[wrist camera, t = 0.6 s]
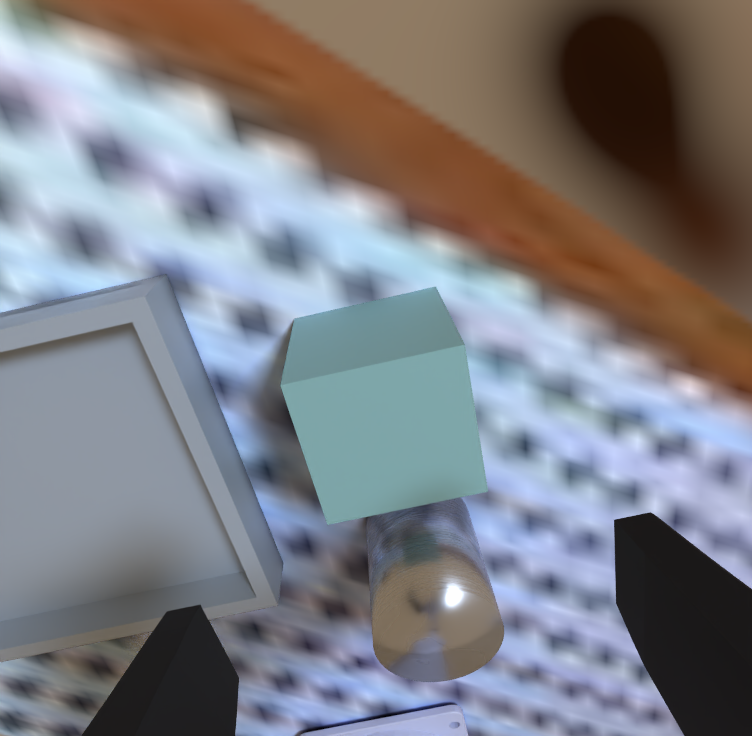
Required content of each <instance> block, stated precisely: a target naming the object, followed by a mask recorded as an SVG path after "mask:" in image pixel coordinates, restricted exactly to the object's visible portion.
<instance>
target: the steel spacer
mask: <svg viewBox="0 0 752 736" xmlns="http://www.w3.org/2000/svg"><path fill="white" fill-rule="evenodd" d="M366 534H367V551H368V568H369V584H370V601H371V618H372V635H373V648H374V652H375V655H376V657H377V659H378V660H379V662H380V663H381V664H382V665H383V666H384V667H385V668H386V669H388V670H389V671H390V672H392V673H394V674H395V675H398V676H400V677H403V678H406V679H409V680H414V681H421V682H441V681H447V680H452V679H456V678H459V677H463V676H465V675H468V674H470V673H472V672H474V671H476V670H478V669H479V668H481V667H482V666H484V665H485V664H486V663H487V662H489V661H490V660H491V659H492V658H493V657H494V656H495V654H496V653H497V651H498V650H499V648H500V646H501V644H502V641H503V637H504V626H503V622H502V619H501V616H500V612H499V609H498V606H497V603H496V599H495V596H494V593H493V590H492V586H491V583H490V580H489V577H488V573H487V570H486V567H485V564H484V560H483V557H482V554H481V551H480V547H479V544H478V541H477V538H476V534H475V531H474V528H473V525H472V522H471V518H470V515H469V512H468V509H467V507H466V504H465V503H464V501H463V500H462V499H461V498H460V497H459V498H454V499H450V500H445V501H440V502H435V503H431V504H426V505H421V506H416V507H411V508H407V509H402V510H397V511H392V512H387V513H383V514H378V515H373V516H368V517H367V522H366Z"/></svg>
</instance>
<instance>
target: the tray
mask: <svg viewBox="0 0 752 736" xmlns="http://www.w3.org/2000/svg"><path fill="white" fill-rule="evenodd" d="M282 570H283V561H282V559H281V556H280V554H279V552H278V549H277V547H276V544H275V542H274V539H273V537H272V534H271V532H270V529H269V527H268V524H267V522H266V519H265V517H264V514H263V512H262V509H261V507H260V505H259V502H258V500H257V497H256V495H255V492H254V490H253V487H252V485H251V482H250V480H249V477H248V475H247V472H246V470H245V467H244V465H243V462H242V460H241V458H240V455H239V453H238V450H237V448H236V445H235V443H234V440H233V438H232V435H231V433H230V430H229V428H228V425H227V423H226V420H225V418H224V415H223V413H222V411H221V408H220V406H219V403H218V401H217V398H216V396H215V393H214V391H213V388H212V386H211V383H210V381H209V378H208V376H207V373H206V371H205V368H204V366H203V364H202V361H201V359H200V356H199V354H198V351H197V349H196V346H195V344H194V341H193V339H192V336H191V334H190V331H189V329H188V326H187V324H186V321H185V319H184V316H183V314H182V312H181V309H180V307H179V304H178V302H177V299H176V297H175V294H174V292H173V289H172V287H171V284H170V282H169V279H168V277H167V274H165V275H161V276H157V277H152V278H148V279H144V280H140V281H135V282H131V283H127V284H122V285H118V286H114V287H109V288H105V289H101V290H97V291H92V292H88V293H84V294H79V295H75V296H71V297H67V298H62V299H58V300H54V301H49V302H45V303H41V304H36V305H32V306H28V307H24V308H19V309H15V310H11V311H6V312H2V313H0V662H3V661H8V660H13V659H18V658H23V657H28V656H33V655H38V654H43V653H48V652H53V651H58V650H63V649H67V648H72V647H77V646H82V645H87V644H92V643H97V642H102V641H107V640H112V639H117V638H122V637H126V636H131V635H136V634H141V633H146V632H151V631H154V629H155V628H156V626H157V625H158V623H159V622H160V620H161V619H162V617H163V616H164V615H165V613H166V612H167V611H171V610H176V609H180V608H185V607H190V606H195V605H201V607H202V609H203V610H204V612H205V614H206V616H207V618H208V620H210V619H215V618H220V617H225V616H230V615H235V614H240V613H245V612H249V611H254V610H259V609H264V608H269V607H274V606H278V602H279V594H280V586H281V578H282Z"/></svg>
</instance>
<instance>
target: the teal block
mask: <svg viewBox="0 0 752 736" xmlns="http://www.w3.org/2000/svg"><path fill="white" fill-rule="evenodd" d="M280 386H281V389H282V392H283V395H284V398H285V401H286V404H287V407H288V410H289V413H290V416H291V419H292V422H293V425H294V428H295V430H296V433H297V436H298V439H299V442H300V445H301V448H302V451H303V454H304V457H305V460H306V463H307V466H308V469H309V472H310V475H311V478H312V481H313V484H314V487H315V489H316V492H317V495H318V498H319V501H320V504H321V507H322V510H323V513H324V516H325V519H326V522H327V525H330V524H335V523H340V522H344V521H349V520H354V519H359V518H363V517H368V516H373V515H378V514H383V513H387V512H392V511H397V510H402V509H407V508H411V507H416V506H421V505H426V504H431V503H435V502H440V501H445V500H450V499H454V498H459V497H464V496H469V495H474V494H478V493H483V492H488V488H487V482H486V476H485V470H484V463H483V457H482V451H481V444H480V438H479V432H478V425H477V419H476V413H475V406H474V400H473V394H472V388H471V381H470V375H469V369H468V362H467V356H466V350H465V344H464V342H463V340H462V338H461V336H460V334H459V332H458V330H457V328H456V326H455V324H454V322H453V320H452V318H451V316H450V314H449V312H448V310H447V308H446V306H445V304H444V302H443V300H442V298H441V296H440V294H439V292H438V290H437V288H436V287H432V288H428V289H423V290H419V291H415V292H410V293H406V294H401V295H397V296H393V297H388V298H384V299H379V300H375V301H371V302H366V303H362V304H357V305H353V306H349V307H344V308H340V309H335V310H331V311H327V312H322V313H318V314H313V315H309V316H304V317H300V318H296V319H294V323H293V328H292V332H291V337H290V342H289V346H288V351H287V356H286V361H285V365H284V370H283V375H282V379H281V384H280Z"/></svg>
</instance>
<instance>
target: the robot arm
mask: <svg viewBox="0 0 752 736" xmlns="http://www.w3.org/2000/svg"><path fill="white" fill-rule="evenodd" d="M614 532H615V573H616V604H617V606H618V608H619V611H620V613H621V615H622V618H623V620H624V622H625V624H626V627H627V629H628V631H629V633H630V636H631V638H632V640H633V642H634V644H635V647H636V649H637V651H638V653H639V655H640V658H641V660H642V662H643V664H644V666H645V668H646V670H647V671H648V673H649V675H650V677H651V678H652V680H653V682H654V684H655V685H656V687H657V689H658V691H659V692H660V694H661V696H662V698H663V699H664V701H665V703H666V705H667V706H668V708H669V710H670V712H671V713H672V715H673V717H674V718H675V720H676V722H677V724H678V725H679V727H680V729H681V730H682V732H683V734H684V736H752V589H751V588H749V587H748V586H747V585H745V584H744V583H743V582H741V581H740V580H739V579H737V578H736V577H735V576H733V575H732V574H731V573H729V572H728V571H727V570H725V569H724V568H723V567H721V566H720V565H719V564H717V563H716V562H715V561H714V560H712V559H711V558H710V557H708V556H707V555H706V554H704V553H703V552H702V551H700V550H699V549H698V548H697V547H695V546H694V545H693V544H691V543H690V542H689V541H688V540H686V539H685V538H684V537H683V536H681V535H680V534H679V533H677V532H676V531H675V530H674V529H672V528H671V527H670V526H668V525H667V524H666V523H665V522H663V521H662V520H661V519H660V518H658V517H657V516H655V515H654V514H652V513H651V512H650V513H645V514H641V515H636V516H631V517H626V518H621V519H616V520H614ZM238 684H239V677H238V675H237V673H236V671H235V669H234V668H233V666H232V664H231V662H230V660H229V658H228V656H227V654H226V652H225V650H224V648H223V647H222V645H221V643H220V641H219V639H218V637H217V635H216V633H215V631H214V629H213V628H212V626H211V624H210V622H209V620H208V618H207V616H206V614H205V612H204V610H203V609H202V607H201V605H195V606H190V607H185V608H180V609H176V610H171V611H167V612H166V613H165V615H164V616H163V617H162V619H161V620H160V622H159V623H158V625H157V626H156V628H155V629H154V631H153V632H152V633H151V635H150V636H149V638H148V639H147V641H146V642H145V644H144V645H143V647H142V648H141V650H140V651H139V653H138V654H137V656H136V657H135V658H134V660H133V661H132V663H131V664H130V666H129V667H128V669H127V670H126V672H125V673H124V675H123V676H122V678H121V679H120V681H119V682H118V684H117V685H116V687H115V688H114V690H113V691H112V693H111V694H110V695H109V697H108V698H107V700H106V701H105V703H104V704H103V706H102V707H101V709H100V710H99V711H98V713H97V714H96V716H95V717H94V719H93V720H92V721H91V723H90V724H89V726H88V727H87V729H86V730H85V731H84V733H83V734H82V736H235V729H236V717H237V701H238ZM300 736H468V732H467V728H466V724H465V720H464V715H463V711H462V709H461V707H459V706H458V705H446V706H441V707H436V708H431V709H426V710H420V711H415V712H410V713H405V714H400V715H394V716H389V717H384V718H379V719H374V720H368V721H363V722H358V723H353V724H348V725H342V726H337V727H332V728H327V729H322V730H316V731H311V732H306V733H303V734H301V735H300Z"/></svg>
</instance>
